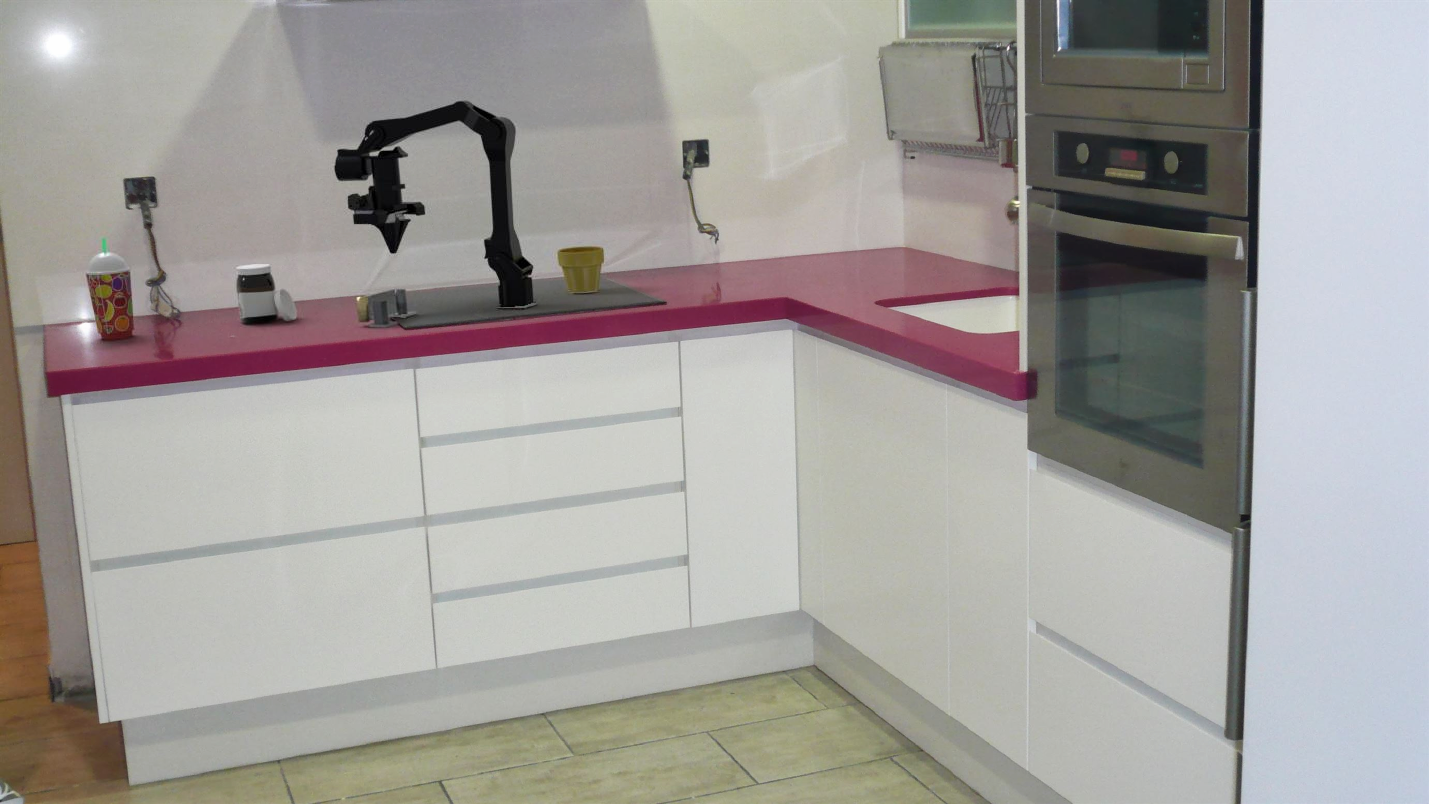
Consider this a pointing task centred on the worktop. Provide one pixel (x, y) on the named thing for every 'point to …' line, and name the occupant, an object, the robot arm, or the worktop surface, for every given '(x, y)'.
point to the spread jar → (261, 296)
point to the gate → (367, 307)
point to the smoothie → (111, 294)
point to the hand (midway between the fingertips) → (393, 253)
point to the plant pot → (581, 267)
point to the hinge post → (401, 302)
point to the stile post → (381, 315)
